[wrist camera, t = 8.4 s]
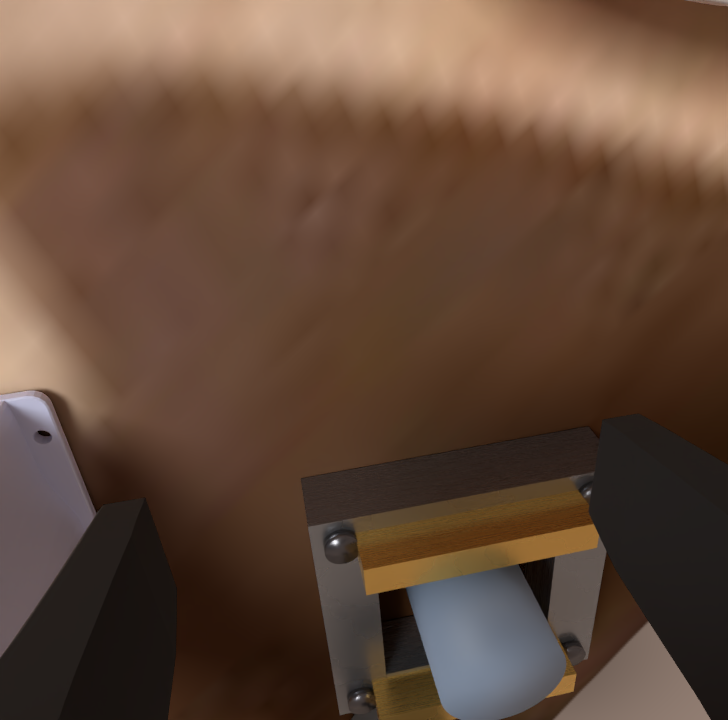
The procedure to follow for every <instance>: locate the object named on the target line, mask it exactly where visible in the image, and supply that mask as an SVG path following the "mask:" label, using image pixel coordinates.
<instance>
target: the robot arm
mask: <svg viewBox="0 0 728 720" xmlns="http://www.w3.org/2000/svg"><path fill="white" fill-rule="evenodd" d="M39 430H44V431H47V432H49V433H50V434H51V436H42V435H40V434H39V433H38V432H37V431H39ZM588 512H589V515H590V517H591V519H592V521H593V523H594V526H595V528H596V530H597V532H598V534H599V537H600V539H601V541H602V543H603V545H604V547H605V549H606V551H607V553H608V555H609V557H610V559H611V561H612V563H613V565H614V567H615V569H616V571H617V572H618V574H619V576H620V577H621V579H622V580H623V582H624V584H625V585H626V587H627V588H628V590H629V591H630V593H631V595H632V596H633V598H634V599H635V601H636V603H637V604H638V606H639V607H640V609H641V610H642V612H643V614H644V615H645V617H646V618H647V620H648V621H649V623H650V624H651V626H652V627H653V629H654V630H655V632H656V633H657V635H658V636H659V638H660V640H661V641H662V643H663V644H664V646H665V648H666V649H667V651H668V652H669V654H670V655H671V657H672V658H673V660H674V661H675V663H676V665H677V666H678V668H679V669H680V671H681V672H682V674H683V675H684V677H685V678H686V680H687V682H688V683H689V685H690V686H691V688H692V689H693V691H694V692H695V694H696V695H697V697H698V699H699V700H700V702H701V704H702V705H703V707H704V709H705V710H706V712H707V714H708V715H709V717H710V719H711V720H728V465H727V464H726V463H724V462H722V461H720V460H719V459H717V458H715V457H714V456H712V455H710V454H709V453H707V452H705V451H703V450H702V449H700V448H698V447H697V446H695V445H693V444H691V443H690V442H688V441H686V440H685V439H683V438H681V437H680V436H678V435H676V434H674V433H673V432H671V431H669V430H667V429H666V428H664V427H662V426H660V425H659V424H657V423H655V422H653V421H651V420H650V419H648V418H646V417H644V416H642V415H640V414H633V415H627V416H622V417H616V418H610V419H604V420H602V427H601V433H600V440H599V446H598V453H597V459H596V465H595V472H594V478H593V485H592V491H591V497H590V504H589V510H588ZM176 626H177V588H176V585H175V582H174V579H173V576H172V573H171V570H170V567H169V565H168V562H167V559H166V556H165V553H164V550H163V547H162V544H161V541H160V539H159V536H158V533H157V530H156V527H155V524H154V521H153V518H152V516H151V513H150V510H149V507H148V504H147V501H146V498H140V499H134V500H128V501H122V502H117V503H111V504H105V505H103V506H102V507H101V508H100V510H99V511H98V512H97V514H96V511H95V509H94V506H93V504H92V501H91V499H90V496H89V494H88V491H87V489H86V486H85V484H84V481H83V479H82V476H81V474H80V471H79V469H78V466H77V464H76V461H75V459H74V456H73V454H72V451H71V449H70V446H69V444H68V442H67V439H66V437H65V434H64V432H63V429H62V427H61V424H60V422H59V419H58V417H57V414H56V412H55V409H54V407H53V404H52V402H51V400H50V399H49V397H48V396H46V395H45V394H44V393H42V392H38V391H23V392H17V393H10V394H4V395H0V720H168V713H169V705H170V697H171V689H172V682H173V674H174V666H175V657H176Z"/></svg>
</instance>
